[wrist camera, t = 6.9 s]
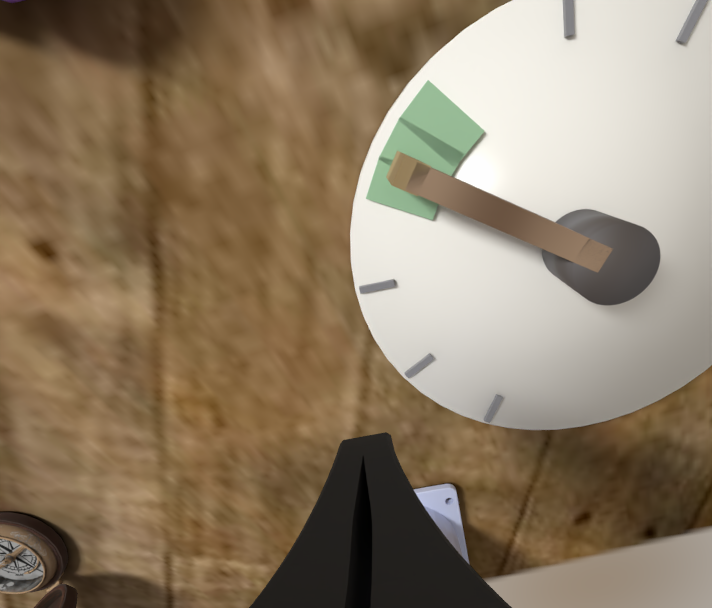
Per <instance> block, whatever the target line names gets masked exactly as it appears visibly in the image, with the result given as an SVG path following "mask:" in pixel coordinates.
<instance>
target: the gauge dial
mask: <svg viewBox="0 0 712 608" xmlns="http://www.w3.org/2000/svg"><path fill="white" fill-rule="evenodd" d="M397 151H399V152H402V153H404V154H406V155H408V156H411V157H413V158H415V159H417V160H420V161H422V162H423V163H425V164H427V165H429V166H431V167H432V168H434V169H437V170H439V171H441V172H443V173H446V174H448V175H450V176H452V177H455V178H457V179H459V180H461V181H464V182H466V183H468V184H470V185H473V186H475V187H477V188H479V189H482V190H484V191H486V192H488V193H491V194H493V195H495V196H497V197H500V198H502V199H504V200H506V201H509V202H511V203H513V204H515V205H518V206H520V207H522V208H524V209H527V210H529V211H531V212H533V213H536V214H538V215H540V216H542V217H545V218H547V219H549V220H551V221H554V222H556V221H557V220H558V219H560V218H561V217H562V216H564V215H566V214H568V213H570V212H572V211H575V210H580V209H592V210H596V211H599V212H602V213H605V214H608V215H610V216H613V217H616V218H619V219H622V220H625V221H628V222H631V223H633V224H636V225H639V226H642V227H644V228H646V229H647V230H648V231H650V232H651V233H652V234H653V235H654V237H655V238H656V240H657V242H658V244H659V248H660V264H659V268H658V271H657V273H656V275H655V277H654V279H653V280H652V282H651V283H650V284H649V286H648V287H647V288H646V289H645V290H644V291H643V292H642V293H640V294H639V295H638V296H636V297H635V298H633V299H631V300H629V301H627V302H624V303H621V304H617V305H599V304H595V303H592V302H590V301H588V300H587V299H586V298H584V297H583V296H581V295H580V294H579V293H577V292H576V291H575V290H573V289H572V288H571V287H569V286H568V285H567V284H565V283H564V282H563V281H561V280H560V279H559V278H557V277H556V276H554V275H553V274H552V273H551V272H550V271H549V270H548V269H547V267H546V266H545V264H544V261H543V257H542V248H539V247H537V246H535V245H532V244H530V243H528V242H525V241H523V240H521V239H518V238H516V237H514V236H511V235H509V234H507V233H504V232H502V231H500V230H497V229H495V228H493V227H491V226H488V225H486V224H484V223H481V222H479V221H477V220H474V219H472V218H470V217H467V216H465V215H463V214H460V213H458V212H456V211H453V210H451V209H449V208H447V207H444V206H442V205H440V204H437V203H435V202H433V201H430V200H428V199H426V198H423V197H421V196H419V195H418V196H415V195H413V194H410V193H408V192H406V191H403V190H401V189H399V188H396V187H394V186H392V185H391V184H390V182H389V181H388V179H387V178H386V176H387V173H388V171H389V169H390V166H391V164H392V162H393V159H394V157H395V154H396V152H397ZM350 242H351V266H352V272H353V278H354V285H355V290H356V294H357V297H358V300H359V303H360V307H361V310H362V313H363V316H364V318H365V320H366V322H367V325H368V327H369V329H370V331H371V333H372V335H373V337H374V339H375V341H376V342H377V344H378V345H379V347H380V348H381V350H382V351H383V353H384V354H385V356H386V357H387V359H388V360H389V361H390V362H391V363H392V365H393V366H394V367H395V368H396V369H397V370H398V371H399V373H400V374H401V375H402V376H403V377H404V378H405V379H406V380H407V381H409V382H410V383H411V384H412V385H413V386H414V387H416V388H417V389H418V390H419V391H420V392H421V393H423V394H424V395H426V396H427V397H429V398H431V399H432V400H434V401H435V402H437V403H438V404H440V405H441V406H443V407H446V408H448V409H450V410H452V411H454V412H456V413H458V414H460V415H462V416H465V417H468V418H471V419H474V420H477V421H480V422H483V423H487V424H492V425H497V426H501V427H506V428H515V429H526V430H558V429H566V428H574V427H582V426H586V425H591V424H595V423H599V422H604V421H608V420H611V419H614V418H617V417H620V416H623V415H626V414H629V413H632V412H634V411H636V410H639V409H641V408H643V407H645V406H647V405H650V404H652V403H654V402H656V401H658V400H660V399H662V398H664V397H665V396H667V395H669V394H671V393H672V392H674V391H676V390H678V389H679V388H681V387H683V386H684V385H686V384H687V383H688V382H690V381H691V380H693V379H694V378H696V377H697V376H698V375H700V374H701V373H703V372H704V371H705V370H707V369H708V368H709V367H710V366H711V365H712V0H513V1H511V2H509V3H506V4H504V5H502V6H500V7H498V8H496V9H495V10H493V11H491V12H490V13H488V14H487V15H485V16H484V17H482V18H481V19H479V20H478V21H476V22H475V23H473V24H472V25H470V26H469V27H467V28H466V29H464V30H463V31H462V32H461V33H459V34H458V35H457V36H456V37H455V38H454V39H453V40H451V41H450V42H449V43H448V44H447V45H446V46H444V47H443V48H442V49H441V50H440V51H439V52H437V53H436V54H435V55H434V56H433V57H432V58H431V59H430V60H429V61H428V62H427V63H426V64H425V65H424V66H423V67H422V68H421V70H420V71H419V72H418V73H417V74H416V75H415V76H414V77H413V78H412V80H411V81H410V82H409V83H408V84H407V85H406V87H405V88H404V90H403V91H402V92H401V94H400V95H399V97H398V98H397V99H396V101H395V102H394V104H393V105H392V107H391V108H390V109H389V111H388V112H387V114H386V116H385V118H384V120H383V122H382V124H381V125H380V127H379V129H378V131H377V133H376V135H375V137H374V139H373V141H372V143H371V145H370V148H369V151H368V153H367V156H366V158H365V161H364V164H363V166H362V169H361V172H360V176H359V180H358V184H357V188H356V193H355V197H354V201H353V210H352V219H351V229H350Z"/></svg>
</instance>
